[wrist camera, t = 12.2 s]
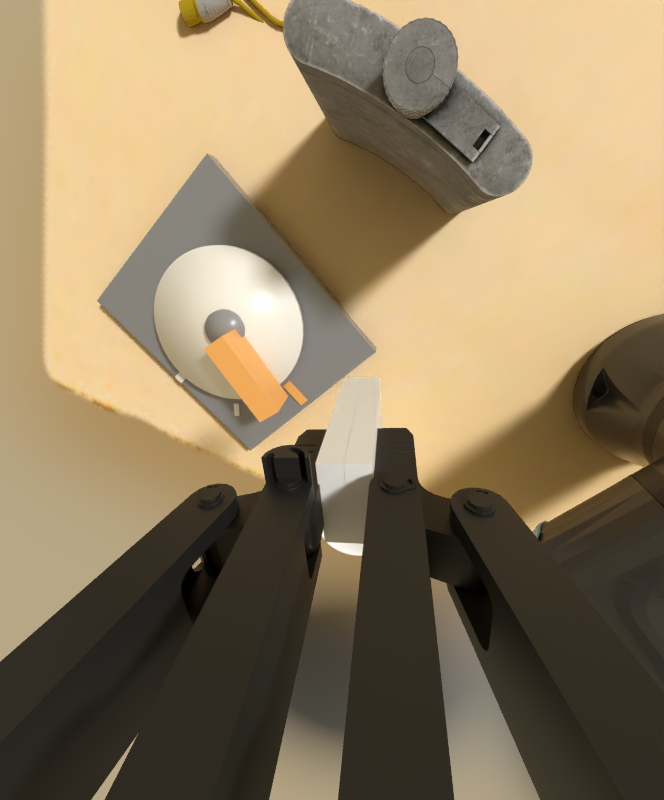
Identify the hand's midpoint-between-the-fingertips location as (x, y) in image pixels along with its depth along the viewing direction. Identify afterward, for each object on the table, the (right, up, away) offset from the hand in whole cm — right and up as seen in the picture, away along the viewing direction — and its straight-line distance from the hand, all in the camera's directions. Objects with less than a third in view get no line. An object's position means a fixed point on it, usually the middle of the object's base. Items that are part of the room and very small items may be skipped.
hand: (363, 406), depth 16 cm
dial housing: (-12, +9, +25) cm, 29 cm away
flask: (+5, +22, +17) cm, 28 cm away
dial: (-12, +8, +24) cm, 27 cm away
